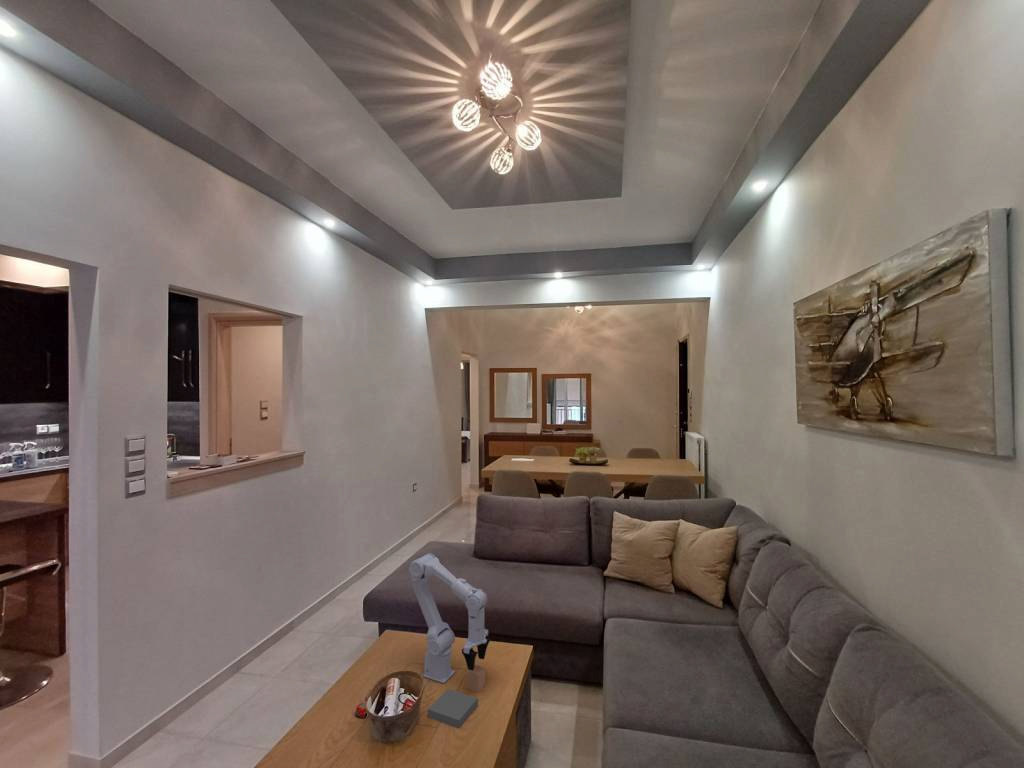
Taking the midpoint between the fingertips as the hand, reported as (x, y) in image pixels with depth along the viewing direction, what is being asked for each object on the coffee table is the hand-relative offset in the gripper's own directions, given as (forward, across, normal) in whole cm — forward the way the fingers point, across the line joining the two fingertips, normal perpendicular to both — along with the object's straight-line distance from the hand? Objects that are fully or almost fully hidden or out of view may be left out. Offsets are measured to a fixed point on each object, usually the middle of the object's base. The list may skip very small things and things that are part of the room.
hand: (476, 663), depth 173 cm
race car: (+8, -25, +25) cm, 36 cm away
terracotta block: (+8, 0, 0) cm, 8 cm away
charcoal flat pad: (+9, -15, 0) cm, 17 cm away
